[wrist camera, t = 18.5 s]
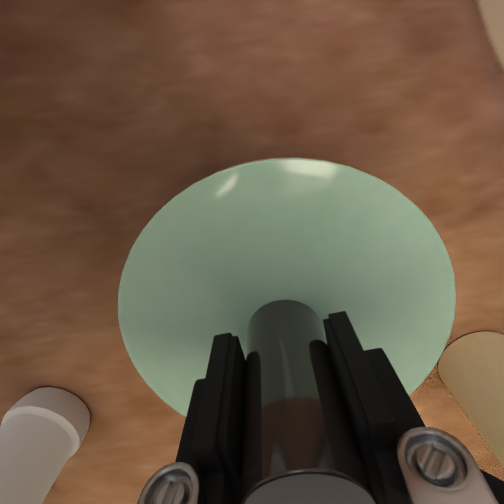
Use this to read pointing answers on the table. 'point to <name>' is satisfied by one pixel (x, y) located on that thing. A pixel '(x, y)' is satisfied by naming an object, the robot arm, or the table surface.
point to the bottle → (39, 443)
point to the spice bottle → (478, 383)
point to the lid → (287, 309)
